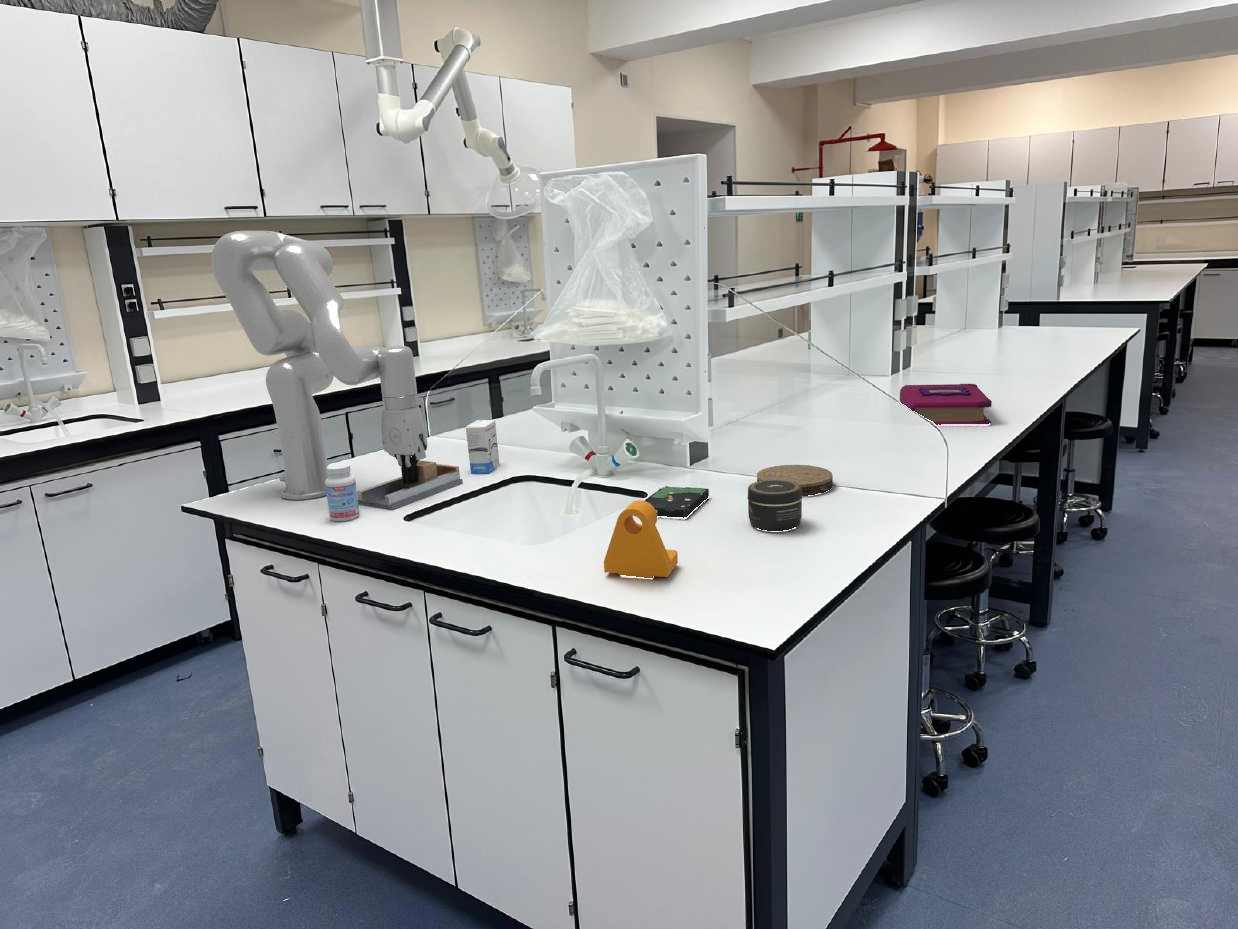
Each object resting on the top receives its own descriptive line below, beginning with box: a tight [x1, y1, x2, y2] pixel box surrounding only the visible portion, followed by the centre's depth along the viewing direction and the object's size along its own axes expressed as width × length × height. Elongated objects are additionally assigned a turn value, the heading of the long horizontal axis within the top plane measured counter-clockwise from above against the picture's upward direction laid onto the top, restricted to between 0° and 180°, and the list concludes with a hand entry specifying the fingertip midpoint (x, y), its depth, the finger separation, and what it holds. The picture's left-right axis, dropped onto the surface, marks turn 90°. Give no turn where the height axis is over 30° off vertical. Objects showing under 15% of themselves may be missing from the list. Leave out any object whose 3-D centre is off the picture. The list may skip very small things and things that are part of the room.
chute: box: [357, 463, 464, 511], centre depth 196 cm, size 11×22×4 cm, turn 147°
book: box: [899, 383, 993, 425], centre depth 243 cm, size 21×28×8 cm
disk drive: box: [644, 485, 710, 518], centre depth 176 cm, size 10×3×15 cm
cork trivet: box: [756, 464, 834, 496], centre depth 185 cm, size 16×16×3 cm
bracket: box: [603, 499, 679, 578], centre depth 142 cm, size 11×7×12 cm, turn 71°
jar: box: [747, 480, 803, 531], centre depth 161 cm, size 10×10×8 cm
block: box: [407, 459, 438, 486], centre depth 198 cm, size 6×4×5 cm, turn 57°
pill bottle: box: [325, 462, 360, 522], centre depth 180 cm, size 6×6×11 cm
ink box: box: [465, 419, 501, 475], centre depth 213 cm, size 9×5×12 cm, turn 168°
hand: (410, 482), depth 196 cm, fingers closed
